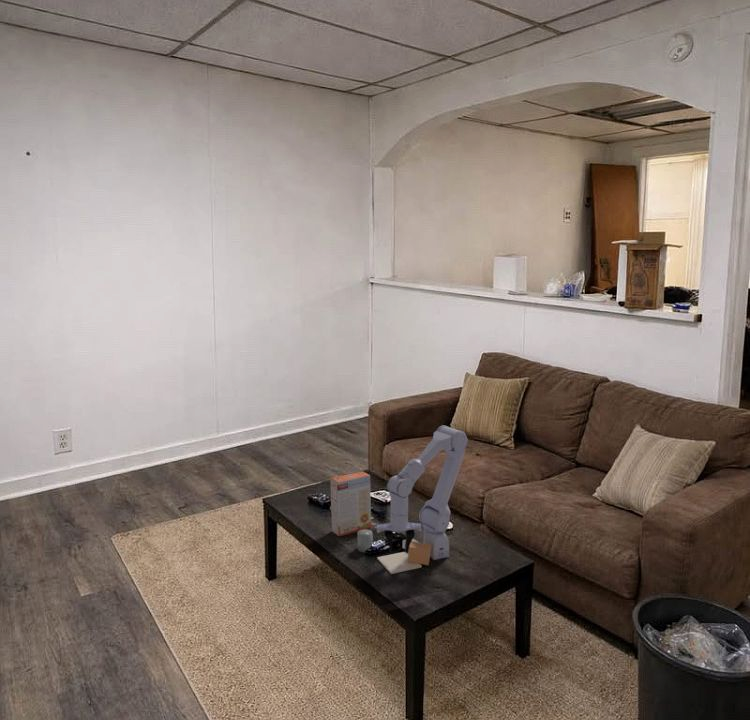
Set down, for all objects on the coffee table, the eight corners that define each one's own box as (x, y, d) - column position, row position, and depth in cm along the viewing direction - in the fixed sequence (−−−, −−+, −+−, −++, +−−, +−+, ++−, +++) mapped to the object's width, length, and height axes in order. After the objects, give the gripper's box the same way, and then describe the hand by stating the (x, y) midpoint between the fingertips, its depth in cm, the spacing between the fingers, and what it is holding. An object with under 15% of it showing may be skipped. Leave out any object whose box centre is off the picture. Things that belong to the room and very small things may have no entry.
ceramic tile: (421, 567, 204) (421, 565, 204) (390, 574, 200) (390, 572, 200) (406, 552, 214) (406, 551, 214) (377, 558, 210) (377, 557, 210)
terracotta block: (408, 555, 210) (429, 559, 210) (407, 561, 206) (428, 565, 205) (410, 541, 210) (431, 544, 209) (409, 547, 205) (430, 550, 204)
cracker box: (363, 522, 238) (363, 470, 235) (371, 528, 233) (371, 474, 230) (330, 531, 231) (329, 477, 227) (338, 537, 226) (337, 482, 222)
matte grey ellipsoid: (414, 536, 227) (414, 530, 226) (399, 539, 224) (399, 533, 224) (406, 530, 232) (406, 523, 232) (392, 533, 230) (392, 526, 229)
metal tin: (420, 551, 215) (420, 543, 215) (410, 554, 213) (410, 546, 213) (412, 545, 220) (412, 537, 219) (402, 548, 218) (402, 540, 217)
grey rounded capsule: (374, 550, 216) (374, 534, 215) (360, 553, 214) (360, 537, 213) (369, 544, 220) (369, 528, 219) (355, 547, 218) (355, 530, 217)
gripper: (419, 507, 208) (418, 545, 211) (376, 508, 207) (375, 546, 209) (422, 515, 201) (422, 555, 204) (377, 517, 200) (377, 556, 202)
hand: (398, 551), depth 206 cm, fingers open, 4 cm apart
